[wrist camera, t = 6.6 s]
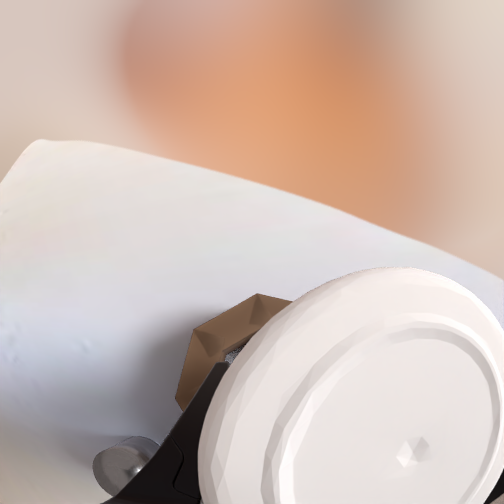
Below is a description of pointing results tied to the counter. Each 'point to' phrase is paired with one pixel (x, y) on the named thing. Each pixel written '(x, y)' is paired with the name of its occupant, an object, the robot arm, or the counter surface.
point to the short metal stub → (122, 462)
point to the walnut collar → (223, 340)
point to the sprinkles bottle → (362, 399)
